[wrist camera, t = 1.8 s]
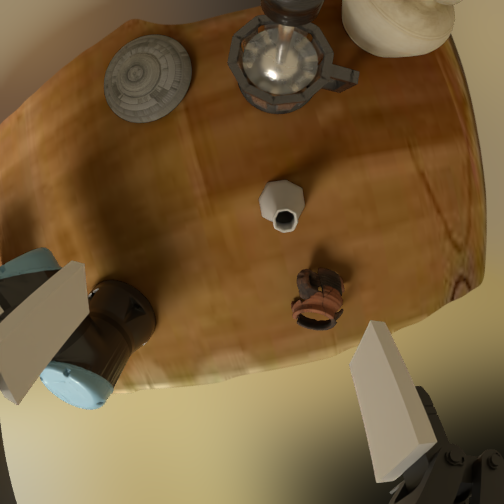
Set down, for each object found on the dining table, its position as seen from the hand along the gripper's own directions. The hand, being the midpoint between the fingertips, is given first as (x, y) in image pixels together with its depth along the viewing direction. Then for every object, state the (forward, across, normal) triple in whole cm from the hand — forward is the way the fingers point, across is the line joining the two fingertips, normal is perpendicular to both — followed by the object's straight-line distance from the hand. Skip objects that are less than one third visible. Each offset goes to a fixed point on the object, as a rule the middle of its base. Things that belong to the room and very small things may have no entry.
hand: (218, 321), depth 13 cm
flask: (+35, +4, -2) cm, 36 cm away
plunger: (+25, 0, +17) cm, 30 cm away
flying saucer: (+36, -20, +14) cm, 43 cm away
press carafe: (+35, +2, +17) cm, 39 cm away
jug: (+36, +14, +31) cm, 49 cm away
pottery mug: (+36, +13, -16) cm, 41 cm away
